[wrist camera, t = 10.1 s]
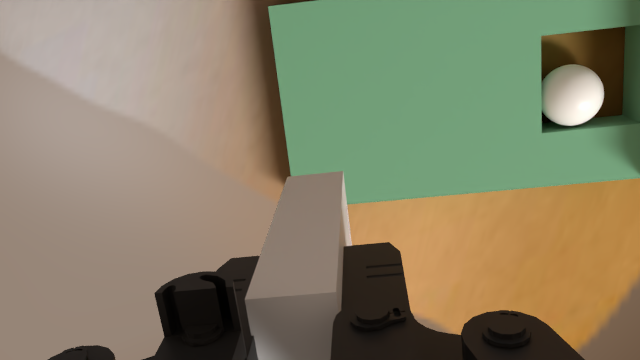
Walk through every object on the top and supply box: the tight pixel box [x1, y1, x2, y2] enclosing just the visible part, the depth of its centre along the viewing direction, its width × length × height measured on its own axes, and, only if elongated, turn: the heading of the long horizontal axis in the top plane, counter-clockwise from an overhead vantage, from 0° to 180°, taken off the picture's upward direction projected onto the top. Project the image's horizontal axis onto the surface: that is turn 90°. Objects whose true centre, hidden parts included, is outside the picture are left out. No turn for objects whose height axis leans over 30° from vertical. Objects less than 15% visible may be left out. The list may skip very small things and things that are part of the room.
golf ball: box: [541, 64, 604, 126], centre depth 34 cm, size 4×4×4 cm
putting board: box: [268, 0, 640, 204], centre depth 34 cm, size 12×22×6 cm, turn 97°
